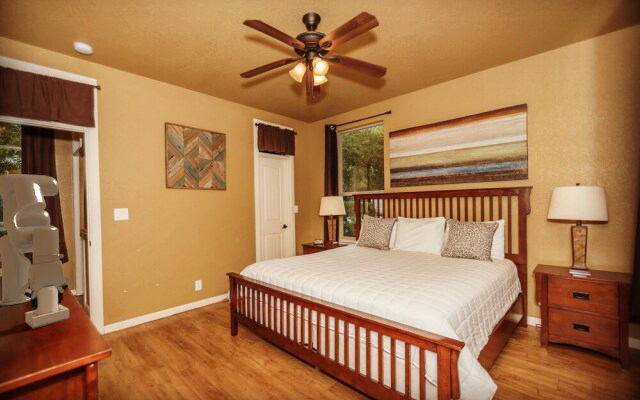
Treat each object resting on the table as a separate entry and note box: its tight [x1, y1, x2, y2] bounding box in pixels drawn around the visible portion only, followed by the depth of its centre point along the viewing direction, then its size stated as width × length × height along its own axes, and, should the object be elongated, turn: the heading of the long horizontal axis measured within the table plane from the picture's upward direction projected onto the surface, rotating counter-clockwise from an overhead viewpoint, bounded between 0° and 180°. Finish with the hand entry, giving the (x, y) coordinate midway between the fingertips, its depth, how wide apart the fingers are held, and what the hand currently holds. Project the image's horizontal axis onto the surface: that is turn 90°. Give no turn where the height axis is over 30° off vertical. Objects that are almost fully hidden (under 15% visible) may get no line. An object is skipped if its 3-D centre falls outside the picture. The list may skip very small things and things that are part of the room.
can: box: [35, 285, 59, 316], centre depth 116 cm, size 6×6×12 cm
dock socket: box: [25, 304, 70, 329], centre depth 116 cm, size 10×10×4 cm
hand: (47, 305), depth 116 cm, fingers closed on can, 6 cm apart
